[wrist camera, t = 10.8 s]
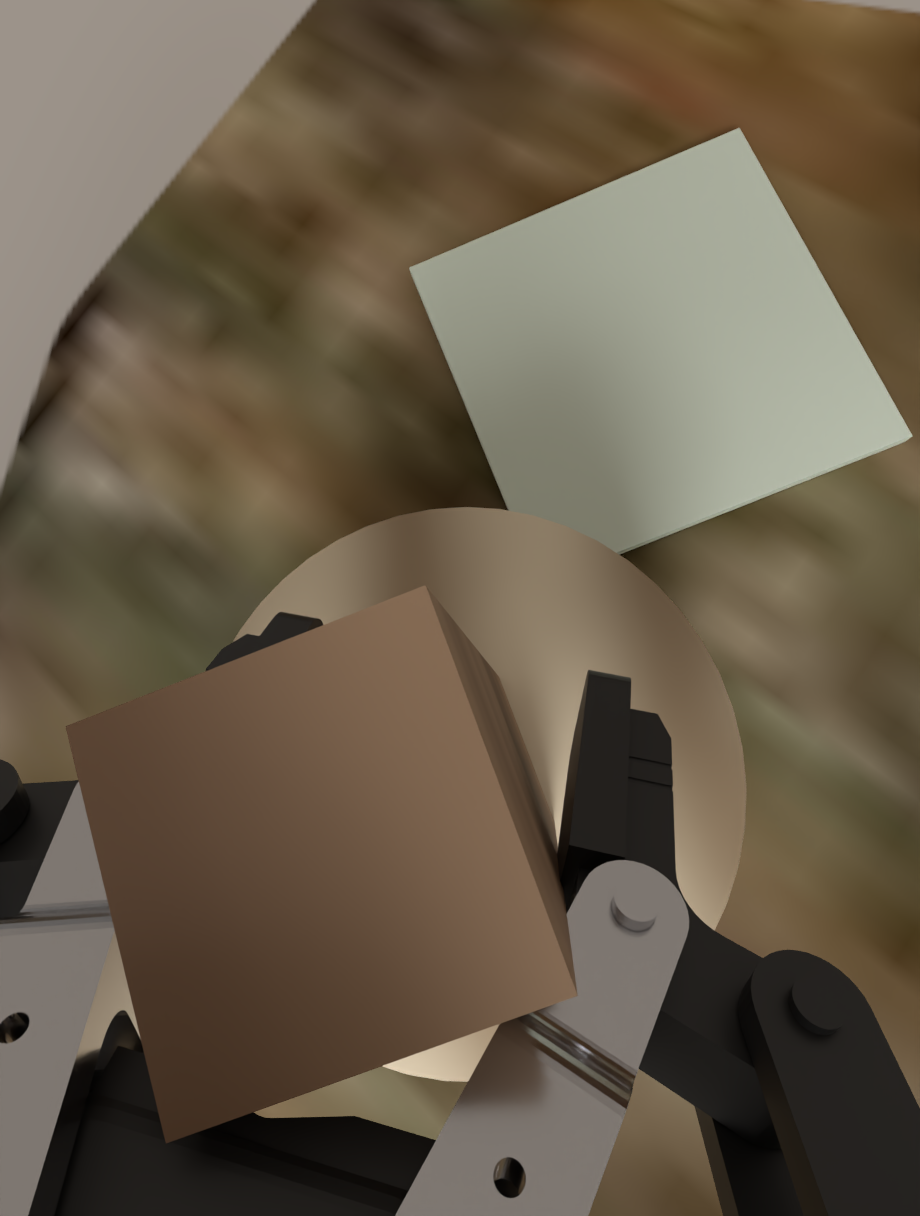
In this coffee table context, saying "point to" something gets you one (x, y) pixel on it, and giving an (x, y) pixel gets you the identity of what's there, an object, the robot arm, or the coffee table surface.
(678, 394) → the mat
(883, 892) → the coffee table surface
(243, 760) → the lid
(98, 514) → the coffee table surface
